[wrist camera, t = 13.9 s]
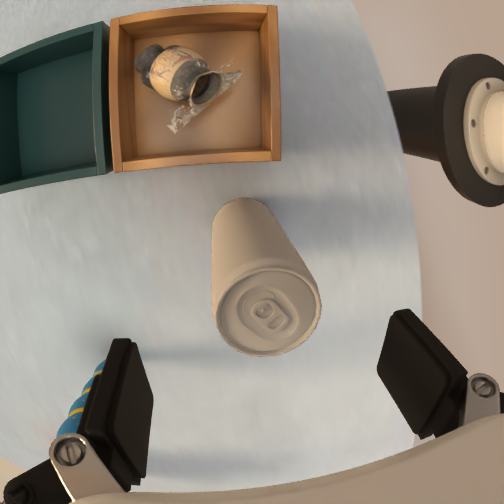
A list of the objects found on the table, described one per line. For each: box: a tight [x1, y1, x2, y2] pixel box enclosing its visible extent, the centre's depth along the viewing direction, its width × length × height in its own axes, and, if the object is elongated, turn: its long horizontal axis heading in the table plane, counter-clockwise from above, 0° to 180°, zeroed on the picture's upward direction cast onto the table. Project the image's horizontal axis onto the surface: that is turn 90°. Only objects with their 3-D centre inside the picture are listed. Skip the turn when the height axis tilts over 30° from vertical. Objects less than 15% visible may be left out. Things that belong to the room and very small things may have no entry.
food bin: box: [109, 5, 281, 173], centre depth 17 cm, size 10×10×5 cm
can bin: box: [0, 21, 114, 194], centre depth 16 cm, size 10×10×5 cm
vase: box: [134, 39, 244, 134], centre depth 16 cm, size 5×5×6 cm
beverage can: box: [212, 198, 322, 357], centre depth 18 cm, size 5×5×12 cm
